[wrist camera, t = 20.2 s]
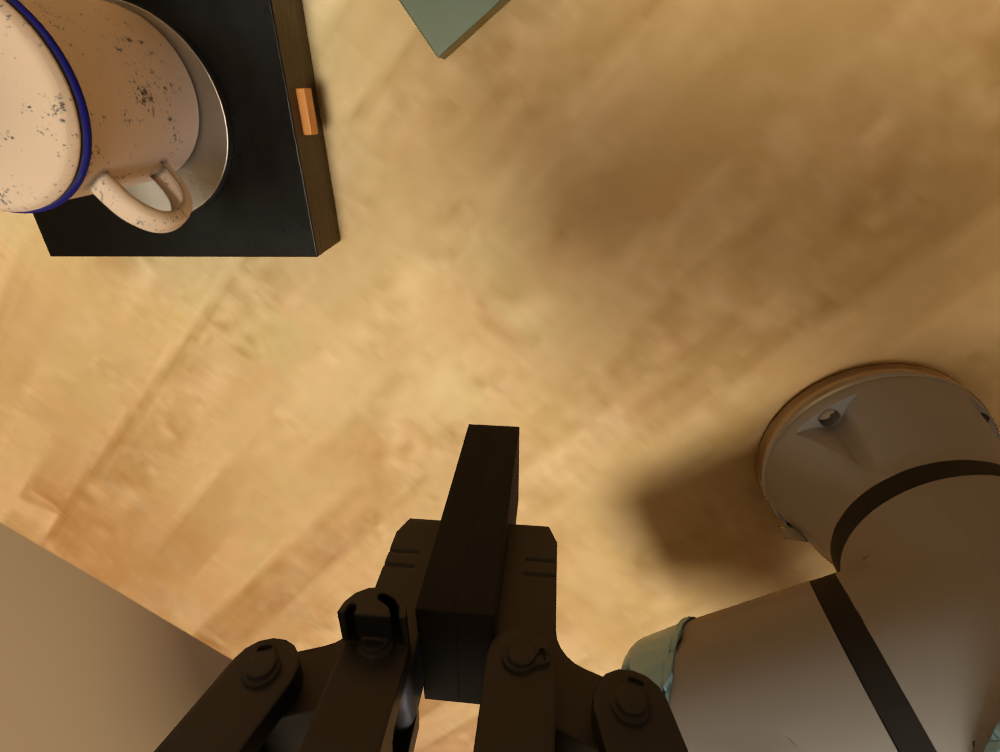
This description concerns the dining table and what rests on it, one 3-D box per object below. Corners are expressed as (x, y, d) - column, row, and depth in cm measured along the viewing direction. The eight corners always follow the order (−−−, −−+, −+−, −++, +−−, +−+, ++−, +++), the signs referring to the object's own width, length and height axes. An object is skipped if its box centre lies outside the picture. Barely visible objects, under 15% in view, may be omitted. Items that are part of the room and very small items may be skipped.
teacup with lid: (11, 83, 30) (-279, 78, 19) (94, -52, 26) (-202, -143, 16) (188, 254, 33) (24, 327, 23) (280, 155, 30) (137, 188, 20)
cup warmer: (301, -54, 29) (260, -78, 25) (347, 241, 37) (321, 259, 33) (-8, -38, 31) (-93, -57, 27) (96, 241, 38) (42, 259, 34)
